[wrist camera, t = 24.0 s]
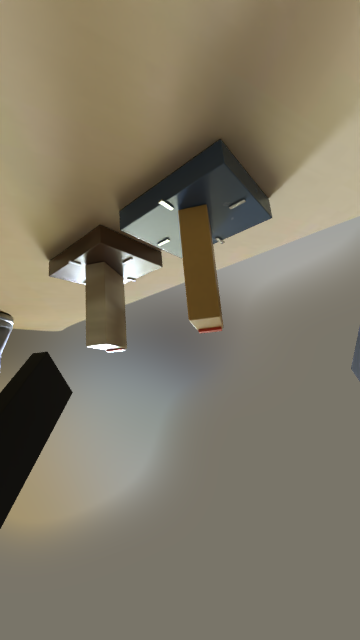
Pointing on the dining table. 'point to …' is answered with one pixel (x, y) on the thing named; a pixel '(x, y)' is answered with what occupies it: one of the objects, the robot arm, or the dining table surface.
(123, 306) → the beige flat block
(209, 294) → the red-tipped wooden block
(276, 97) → the dining table surface
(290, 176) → the dining table surface
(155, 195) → the blue base
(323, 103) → the dining table surface
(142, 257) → the walnut base
